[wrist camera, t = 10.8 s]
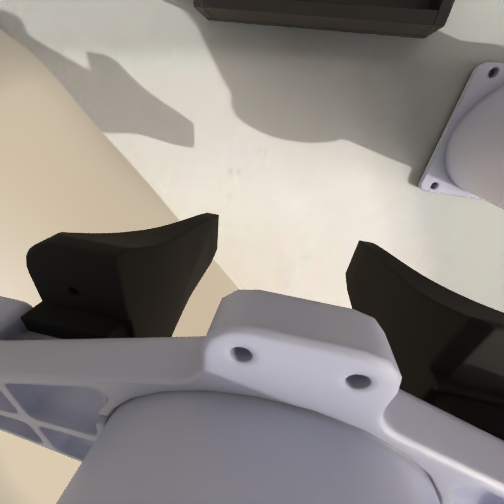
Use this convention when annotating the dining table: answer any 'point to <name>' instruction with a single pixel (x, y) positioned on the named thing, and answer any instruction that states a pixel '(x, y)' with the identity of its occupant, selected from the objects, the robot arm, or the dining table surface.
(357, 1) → the tray
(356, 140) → the dining table surface
